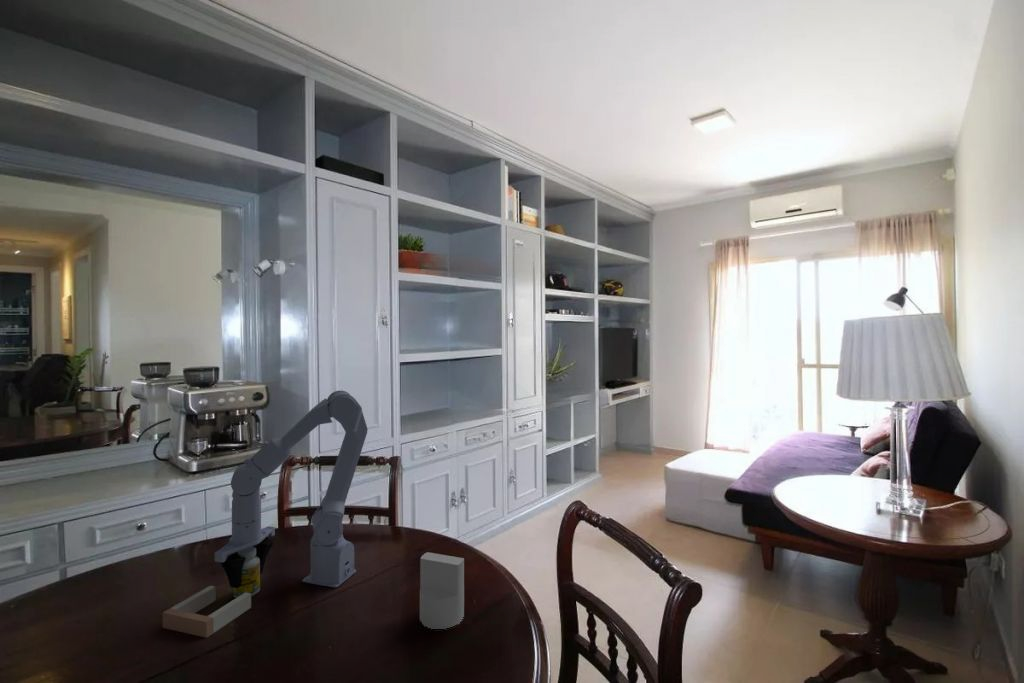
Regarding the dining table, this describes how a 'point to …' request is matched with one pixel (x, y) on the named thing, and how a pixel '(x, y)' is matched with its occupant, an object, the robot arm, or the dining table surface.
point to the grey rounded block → (441, 590)
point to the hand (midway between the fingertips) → (246, 580)
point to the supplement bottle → (249, 573)
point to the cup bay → (201, 625)
